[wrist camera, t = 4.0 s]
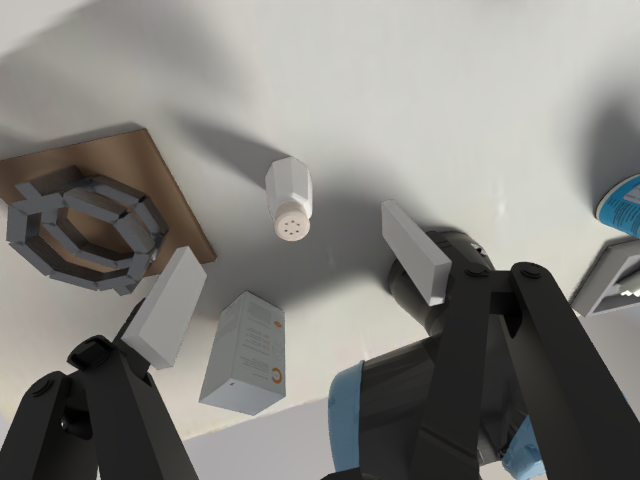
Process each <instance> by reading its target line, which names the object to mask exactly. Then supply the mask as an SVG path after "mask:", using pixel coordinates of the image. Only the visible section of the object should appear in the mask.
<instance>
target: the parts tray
mask: <svg viewBox="0 0 640 480" xmlns="http://www.w3.org/2000/svg"><path fill="white" fill-rule="evenodd" d="M638 270H640V239H639V240H634V241H630V242H626V243H621V244H617V245H613V246H608V247H607V249H606V250H605V252H604V253H603V255H602V256H601V258H600V260H599V261H598V263H597V264H596V266H595V267H594V269H593V271H592V272H591V274H590V275H589V277H588V278H587V280H586V282H585V283H584V285H583V286H582V288H581V289H580V291H579V292H578V294H577V296H576V297H575V299H574V300H573V302H572V303H571V305H570V306H571V307H572V308H573V309H574V310H575V311H577V312H578V313H579V314H581V315H582V316H583V317H590V316H594V315H598V314H603V313H607V312H611V311H615V310H619V309H624V308H628V307H632V306H637V305H640V296H638V297H637V296H635V295H634V294H631V295H629V296H628V295H626V294H625V295H621V294H620V293H618V291H619V289H618V288H619V287H620V285H619V284H617V283H618V282H619V281H621V280H623V279H624V278H626V277H628V276H630V275H631V274H633V273H635V272H636V271H638Z"/></svg>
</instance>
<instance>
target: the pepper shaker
mask: <svg viewBox="0 0 640 480" xmlns="http://www.w3.org/2000/svg"><path fill="white" fill-rule="evenodd" d="M265 184H266V192H267V200H268V207H269V211H270V214H271V216H272V219H273V221H274V230H275V233H276V234H277V235H278V236H279V237H280V238H281V239H284V240H287V241H296V240H300V239H302V238H303V237H304V236H305V235H306V234H307V233H308V231H309V228H310V222H309V218H310V217H311V215H312V181H311V178H310V174H309V170H308V166H306V165H305V164H303V163H301V162H300V161H298V160H296V159H294V158H293V157H288V158H284V159H281V160H277V161H273V162H272V164H271V166H270V168H269V170H268V172H267V174H266V176H265Z"/></svg>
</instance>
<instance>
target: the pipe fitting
mask: <svg viewBox="0 0 640 480" xmlns="http://www.w3.org/2000/svg"><path fill="white" fill-rule="evenodd" d="M617 284H619V285H620V287H619V288H618V289H619V291H618V293H620V294H621V295H625V294H626V295H628V296H629V295H631V294H634V295H635V296H637V297H638V296H640V270H638V271H636V272H635V273H633V274H631V275H630V276H628V277H626V278H624V279H623V280H621V281H619V282H618V283H617Z"/></svg>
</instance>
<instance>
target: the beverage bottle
mask: <svg viewBox="0 0 640 480" xmlns="http://www.w3.org/2000/svg"><path fill="white" fill-rule="evenodd" d="M596 217H597V219H598V220H599V221H600V222H601V223H603V224H605V225H608V226H610V227H613V228H615V229H618V230H620V231H623V232H625V233H627V234H630V235H632V236H634V237H636V238H639V239H640V174H638V175H635V176H632V177H630V178H628V179H626V180H624V181H622V182H621V183H619V184H618V185H616V186H615V187H614V188H613V189H611V190H610V191H609V192H608V193H607V194H606V195H605V197H604V198H603V199H602V201H601V202H600V204H599V206H598V208H597V211H596Z"/></svg>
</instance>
